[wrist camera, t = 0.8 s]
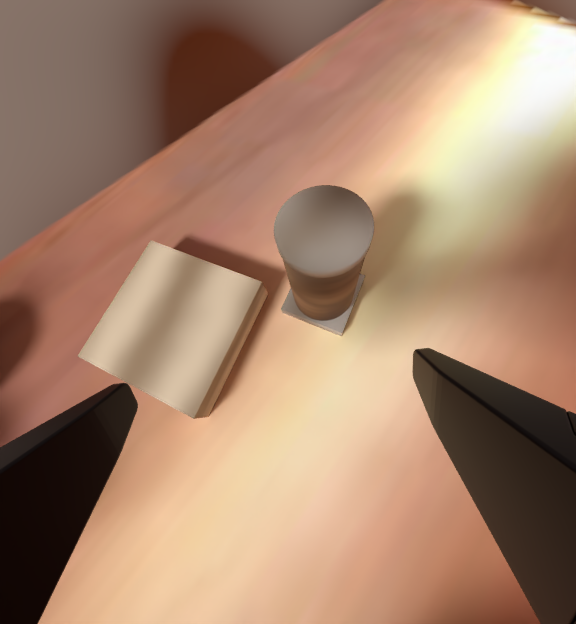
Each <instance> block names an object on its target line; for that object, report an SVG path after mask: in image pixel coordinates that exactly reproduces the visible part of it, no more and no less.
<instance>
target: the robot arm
mask: <svg viewBox="0 0 576 624" xmlns="http://www.w3.org/2000/svg"><path fill="white" fill-rule="evenodd" d="M413 378H414V381H415V384H416V386H417V389H418V391H419V394H420V396H421V399H422V401H423V403H424V406H425V408H426V411H427V413H428V416H429V418H430V420H431V423H432V425H433V427H434V429H435V431H436V433H437V435H438V437H439V439H440V440H441V442H442V444H443V446H444V448H445V450H446V451H447V453H448V455H449V457H450V459H451V461H452V462H453V464H454V466H455V468H456V470H457V471H458V473H459V475H460V477H461V479H462V481H463V482H464V484H465V486H466V488H467V490H468V492H469V493H470V495H471V497H472V499H473V501H474V503H475V504H476V506H477V508H478V510H479V512H480V514H481V515H482V517H483V519H484V521H485V523H486V524H487V526H488V528H489V530H490V532H491V534H492V535H493V537H494V539H495V541H496V543H497V545H498V546H499V548H500V550H501V552H502V554H503V556H504V557H505V559H506V561H507V563H508V565H509V566H510V568H511V570H512V572H513V574H514V576H515V577H516V579H517V581H518V583H519V585H520V587H521V588H522V590H523V592H524V594H525V596H526V598H527V599H528V601H529V603H530V605H531V607H532V608H533V610H534V612H535V614H536V616H537V618H538V619H539V621H540V623H541V624H576V414H575V413H572V412H570V411H568V412H566V410H565V409H563V408H561V407H559V406H557V405H554V404H552V403H550V402H548V401H546V400H543V399H541V398H539V397H537V396H535V395H532V394H530V393H528V392H526V391H523V390H521V389H519V388H517V387H515V386H512V385H510V384H508V383H506V382H503V381H501V380H499V379H497V378H495V377H492V376H490V375H488V374H486V373H483V372H481V371H479V370H477V369H475V368H472V367H470V366H468V365H466V364H463V363H461V362H459V361H457V360H455V359H452V358H450V357H448V356H446V355H443V354H441V353H439V352H437V351H435V350H432V349H430V348H424V349H416V350H415V351H414V353H413ZM137 408H138V403H137V400H136V398H135V396H134V394H133V392H132V390H131V388H130V386H129V385H128V384H127V383H119V384H113V385H111V386H109V387H107V388H105V389H103V390H102V391H100V392H98V393H96V394H95V395H93V396H91V397H89V398H87V399H86V400H84V401H82V402H80V403H79V404H77V405H75V406H73V407H71V408H70V409H68V410H66V411H64V412H63V413H61V414H59V415H57V416H55V417H54V418H52V419H50V420H48V421H47V422H45V423H43V424H41V425H39V426H38V427H36V428H34V429H32V430H31V431H29V432H27V433H25V434H23V435H22V436H20V437H18V438H16V439H15V440H13V441H11V442H9V443H7V444H6V445H4V446H2V447H0V624H38V622H39V620H40V618H41V616H42V614H43V612H44V610H45V608H46V606H47V604H48V602H49V600H50V598H51V596H52V594H53V592H54V589H55V587H56V585H57V583H58V581H59V579H60V577H61V575H62V573H63V571H64V569H65V567H66V565H67V563H68V561H69V559H70V557H71V555H72V553H73V551H74V549H75V546H76V544H77V542H78V540H79V538H80V536H81V534H82V532H83V530H84V528H85V526H86V524H87V522H88V520H89V518H90V516H91V514H92V512H93V510H94V508H95V505H96V503H97V501H98V499H99V497H100V495H101V493H102V491H103V489H104V487H105V485H106V483H107V481H108V479H109V477H110V475H111V473H112V471H113V469H114V467H115V465H116V462H117V460H118V458H119V456H120V454H121V451H122V449H123V446H124V443H125V441H126V438H127V436H128V433H129V430H130V428H131V425H132V422H133V420H134V417H135V415H136V412H137Z"/></svg>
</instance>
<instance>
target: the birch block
mask: <svg viewBox="0 0 576 624" xmlns="http://www.w3.org/2000/svg"><path fill="white" fill-rule="evenodd" d="M267 295H268V292H267V291H266V289H265V287H264V285H263V283H262V282H261V281H258V280H256V279H253V278H250V277H248V276H245V275H242V274H240V273H237V272H234V271H232V270H229V269H226V268H224V267H221V266H218V265H215V264H213V263H210V262H207V261H205V260H202V259H199V258H197V257H194V256H191V255H189V254H186V253H183V252H181V251H178V250H175V249H173V248H170V247H167V246H164V245H162V244H159V243H156V242H154V241H150V243H149V244H148V246H147V247H146V249H145V251H144V252H143V254H142V255H141V257H140V258H139V260H138V262H137V263H136V265H135V266H134V268H133V270H132V271H131V273H130V274H129V276H128V277H127V279H126V281H125V282H124V284H123V285H122V287H121V288H120V290H119V292H118V293H117V295H116V296H115V298H114V300H113V301H112V303H111V304H110V306H109V307H108V309H107V311H106V312H105V314H104V315H103V317H102V319H101V320H100V322H99V323H98V325H97V326H96V328H95V330H94V331H93V333H92V334H91V336H90V338H89V339H88V341H87V342H86V344H85V345H84V347H83V349H82V350H81V352H80V353H79V355H78V357H80V358H82V359H84V360H86V361H87V362H89V363H91V364H93V365H95V366H97V367H99V368H100V369H102V370H104V371H106V372H108V373H110V374H112V375H114V376H115V377H117V378H119V379H121V380H123V381H125V382H127V383H128V384H130V385H132V386H134V387H136V388H138V389H140V390H141V391H143V392H145V393H147V394H149V395H151V396H153V397H154V398H156V399H158V400H160V401H162V402H164V403H166V404H167V405H169V406H171V407H173V408H175V409H177V410H179V411H180V412H182V413H184V414H186V415H188V416H190V417H192V418H193V419H195V418H203V417H209V414H210V412H211V410H212V408H213V406H214V404H215V402H216V400H217V398H218V396H219V394H220V392H221V390H222V388H223V386H224V384H225V382H226V380H227V378H228V375H229V373H230V371H231V369H232V367H233V365H234V363H235V361H236V359H237V357H238V355H239V353H240V351H241V349H242V347H243V345H244V343H245V341H246V338H247V336H248V334H249V332H250V330H251V328H252V326H253V324H254V322H255V320H256V318H257V316H258V314H259V312H260V310H261V308H262V306H263V304H264V302H265V299H266V297H267Z"/></svg>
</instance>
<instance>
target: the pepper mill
mask: <svg viewBox="0 0 576 624" xmlns="http://www.w3.org/2000/svg"><path fill="white" fill-rule="evenodd" d="M373 233H374V220H373V216H372V212H371V210H370V208H369V207H368V205H367V204H366V202H365V201H364V200H363V199H362V198H361V197H359V196H358V195H357V194H355V193H354V192H352V191H350V190H348V189H345V188H342V187H338V186H330V185H322V186H315V187H310V188H307V189H304V190H302V191H300V192H298V193H297V194H295V195H293V196H292V197H291V198H289V199H288V200H287V201H286V202H285V203H284V205H283V206H282V207H281V209H280V210H279V212H278V214H277V217H276V220H275V224H274V236H275V241H276V244H277V247H278V250H279V253H280V255H281V257H282V258H283V261H284V265H285V268H286V272H287V275H288V279H289V282H290V286H291V289H290V291H289V293H288V295H287V298H286V300H285V302H284V304H283V306H282V308H281V310H282V312H283V313H284V314H287V315H289V316H292V317H294V318H297V319H299V320H302V321H304V322H307V323H309V324H312V325H314V326H317V327H320V328H322V329H325V330H327V331H330V332H332V333H335V334H337V335H340V336H341V335H342V333H343V330H344V328H345V325H346V323H347V320H348V318H349V315H350V313H351V310H352V308H353V306H354V303H355V301H356V298H357V296H358V293H359V291H360V288H361V286H362V283H363V281H364V278H365V275H362V274H360V272H361V268H362V265H363V261H364V258H365V255H366V254H367V252H368V250H369V247H370V244H371V240H372V237H373Z"/></svg>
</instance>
